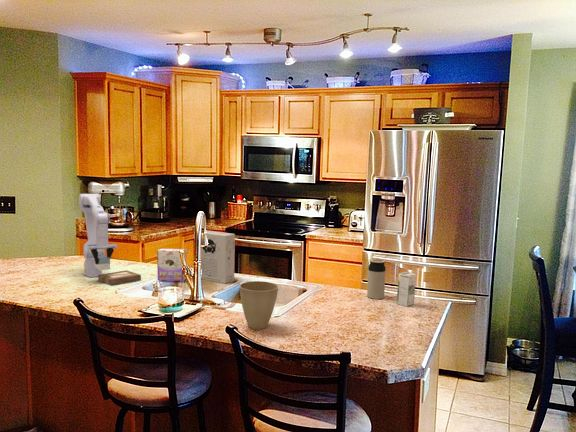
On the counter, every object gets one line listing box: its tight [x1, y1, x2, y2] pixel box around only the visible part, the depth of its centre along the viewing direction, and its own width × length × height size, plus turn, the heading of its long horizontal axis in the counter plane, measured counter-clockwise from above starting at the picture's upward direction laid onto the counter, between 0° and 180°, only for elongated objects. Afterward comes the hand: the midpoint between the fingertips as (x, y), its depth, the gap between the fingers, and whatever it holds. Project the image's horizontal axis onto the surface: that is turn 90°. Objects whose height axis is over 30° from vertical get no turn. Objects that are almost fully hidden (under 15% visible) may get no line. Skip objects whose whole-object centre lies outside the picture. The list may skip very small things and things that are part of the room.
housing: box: [95, 254, 111, 271], centre depth 257 cm, size 9×5×6 cm, turn 35°
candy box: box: [156, 248, 187, 283], centre depth 263 cm, size 14×6×16 cm, turn 84°
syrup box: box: [396, 271, 417, 307], centre depth 231 cm, size 6×6×14 cm
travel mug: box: [366, 258, 387, 300], centre depth 242 cm, size 8×8×18 cm
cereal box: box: [193, 229, 236, 284], centre depth 268 cm, size 22×8×25 cm, turn 58°
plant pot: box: [239, 280, 279, 330], centre depth 196 cm, size 15×15×16 cm
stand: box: [97, 270, 142, 286], centre depth 261 cm, size 14×16×3 cm
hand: (102, 263), depth 257 cm, fingers closed on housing, 5 cm apart
